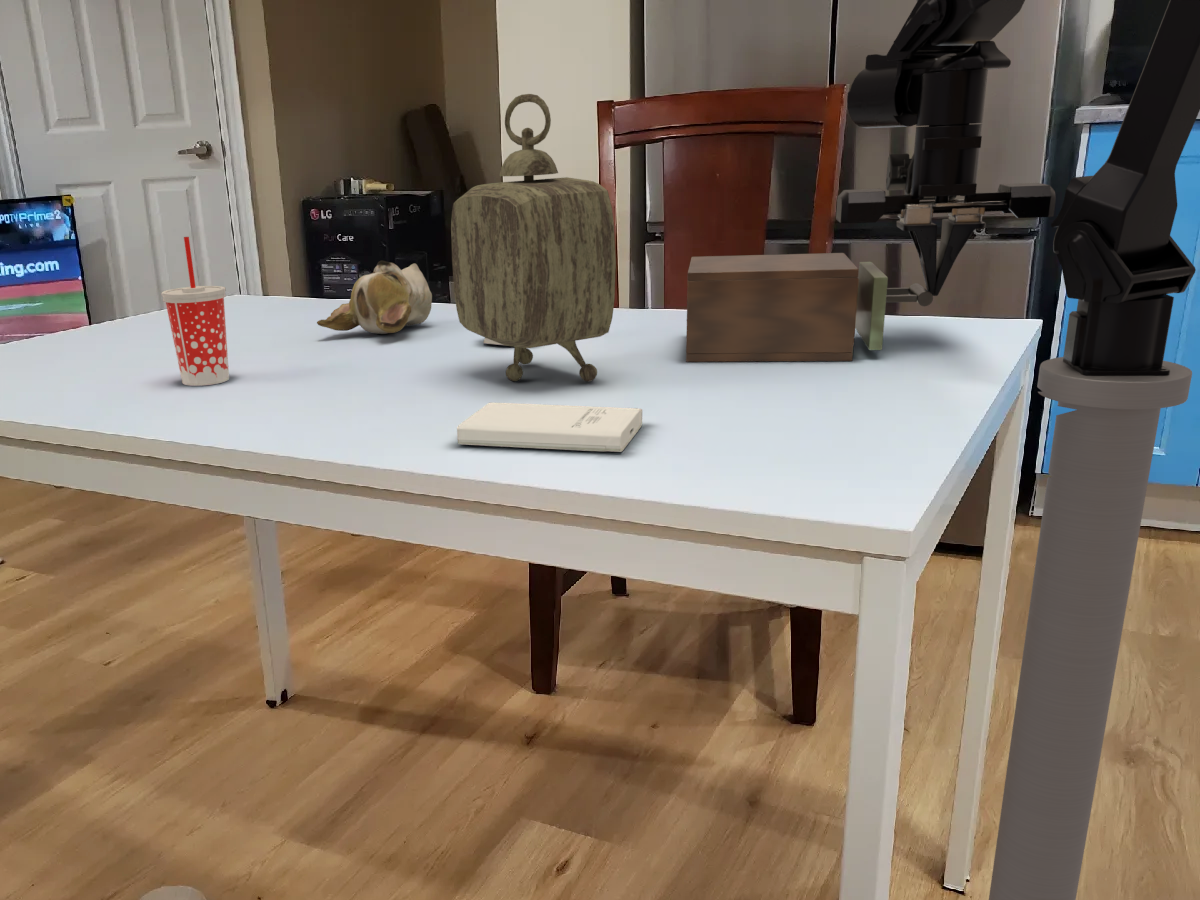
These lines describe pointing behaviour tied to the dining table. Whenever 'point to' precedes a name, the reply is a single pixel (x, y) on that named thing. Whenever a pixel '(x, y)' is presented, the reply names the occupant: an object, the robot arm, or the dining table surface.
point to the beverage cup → (198, 330)
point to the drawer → (880, 302)
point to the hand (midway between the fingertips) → (932, 295)
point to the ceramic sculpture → (384, 301)
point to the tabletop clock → (534, 255)
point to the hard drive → (551, 427)
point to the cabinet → (771, 308)
